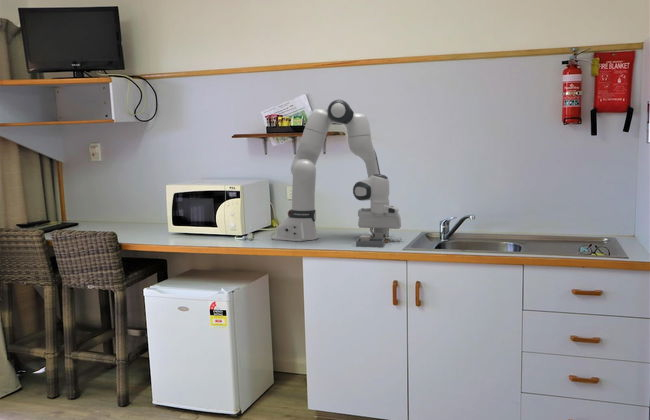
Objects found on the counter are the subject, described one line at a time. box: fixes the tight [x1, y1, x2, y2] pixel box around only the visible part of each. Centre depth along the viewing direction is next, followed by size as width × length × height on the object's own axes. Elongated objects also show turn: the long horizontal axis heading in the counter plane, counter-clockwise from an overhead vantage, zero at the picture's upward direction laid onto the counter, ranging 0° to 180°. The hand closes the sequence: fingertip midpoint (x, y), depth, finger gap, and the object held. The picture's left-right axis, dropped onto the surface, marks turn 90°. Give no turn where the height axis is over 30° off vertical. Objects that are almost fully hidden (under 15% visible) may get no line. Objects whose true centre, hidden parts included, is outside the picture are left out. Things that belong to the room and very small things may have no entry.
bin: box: [355, 237, 386, 249], centre depth 283 cm, size 12×9×3 cm
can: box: [373, 228, 390, 238], centre depth 308 cm, size 8×8×12 cm
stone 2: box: [375, 231, 384, 239], centre depth 296 cm, size 4×4×4 cm
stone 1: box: [359, 235, 371, 241], centre depth 284 cm, size 4×4×4 cm
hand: (379, 237), depth 296 cm, fingers closed on stone 2, 4 cm apart
